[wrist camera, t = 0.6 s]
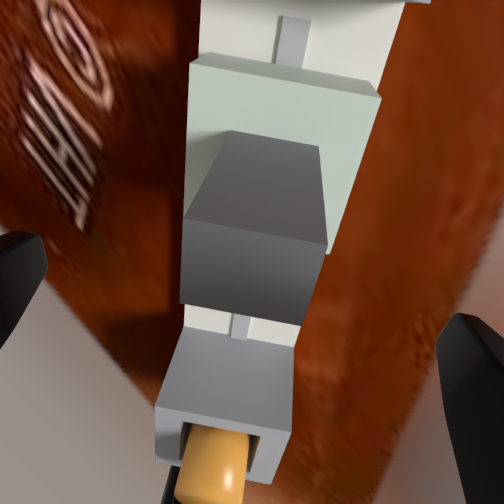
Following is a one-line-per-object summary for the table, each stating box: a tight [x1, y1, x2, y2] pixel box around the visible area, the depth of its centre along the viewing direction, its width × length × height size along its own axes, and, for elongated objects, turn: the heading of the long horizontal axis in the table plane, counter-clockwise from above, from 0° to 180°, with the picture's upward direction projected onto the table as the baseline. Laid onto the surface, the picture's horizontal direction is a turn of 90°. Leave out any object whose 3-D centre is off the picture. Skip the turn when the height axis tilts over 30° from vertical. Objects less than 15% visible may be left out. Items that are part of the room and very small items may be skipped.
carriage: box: [180, 52, 382, 326], centre depth 12 cm, size 6×6×9 cm
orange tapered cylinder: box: [174, 423, 250, 504], centre depth 20 cm, size 3×3×6 cm
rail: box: [155, 0, 431, 485], centre depth 17 cm, size 26×7×7 cm, turn 172°
